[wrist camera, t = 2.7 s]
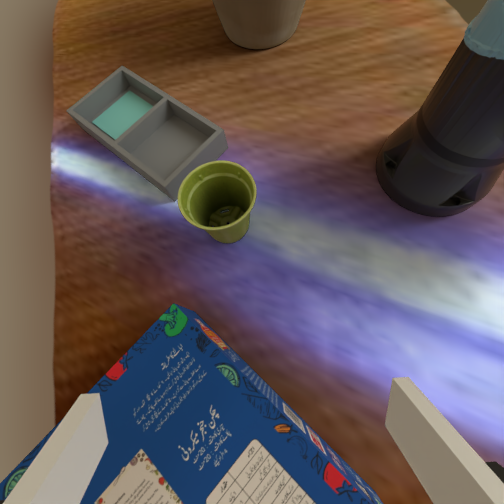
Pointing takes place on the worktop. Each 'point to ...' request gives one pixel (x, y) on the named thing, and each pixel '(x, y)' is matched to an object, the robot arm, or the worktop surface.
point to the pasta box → (203, 430)
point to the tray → (148, 129)
